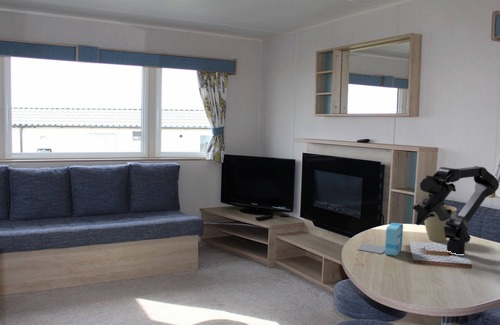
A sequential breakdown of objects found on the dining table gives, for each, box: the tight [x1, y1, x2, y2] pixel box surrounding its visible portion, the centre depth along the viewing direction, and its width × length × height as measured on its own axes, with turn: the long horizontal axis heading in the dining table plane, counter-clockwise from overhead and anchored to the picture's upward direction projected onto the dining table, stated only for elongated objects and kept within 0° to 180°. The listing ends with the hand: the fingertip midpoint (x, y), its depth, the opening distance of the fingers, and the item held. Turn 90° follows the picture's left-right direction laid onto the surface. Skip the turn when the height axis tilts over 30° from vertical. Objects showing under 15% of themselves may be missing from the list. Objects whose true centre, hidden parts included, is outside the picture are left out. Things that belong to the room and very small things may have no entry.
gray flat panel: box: [357, 242, 385, 255], centre depth 206 cm, size 10×11×1 cm
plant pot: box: [423, 204, 458, 243], centre depth 223 cm, size 15×15×16 cm
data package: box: [384, 222, 404, 257], centre depth 201 cm, size 12×4×12 cm, turn 151°
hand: (417, 224), depth 202 cm, fingers closed
